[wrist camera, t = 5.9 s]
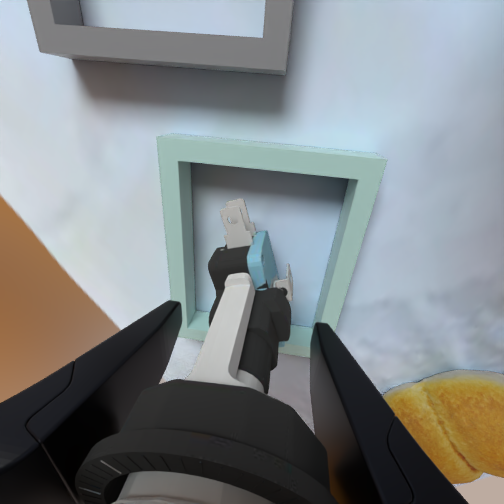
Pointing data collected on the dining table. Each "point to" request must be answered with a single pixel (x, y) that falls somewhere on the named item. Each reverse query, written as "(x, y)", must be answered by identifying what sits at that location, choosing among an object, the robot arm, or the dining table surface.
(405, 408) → the bread roll
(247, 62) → the grey rectangular frame
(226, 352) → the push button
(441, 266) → the dining table surface
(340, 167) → the mint green frame
